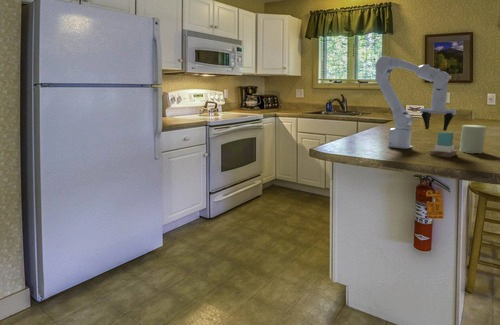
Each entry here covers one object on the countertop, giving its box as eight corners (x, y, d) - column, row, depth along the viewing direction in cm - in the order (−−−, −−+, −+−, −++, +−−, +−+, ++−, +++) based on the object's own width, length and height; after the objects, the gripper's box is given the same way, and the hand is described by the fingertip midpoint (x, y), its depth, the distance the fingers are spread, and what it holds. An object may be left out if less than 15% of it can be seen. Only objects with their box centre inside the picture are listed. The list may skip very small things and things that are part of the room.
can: (483, 154, 158) (486, 126, 156) (458, 152, 163) (461, 125, 160) (482, 151, 166) (486, 124, 163) (459, 149, 171) (462, 123, 168)
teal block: (437, 144, 156) (438, 133, 155) (441, 143, 159) (442, 132, 158) (448, 145, 153) (449, 133, 152) (452, 144, 156) (453, 133, 155)
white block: (434, 150, 156) (435, 145, 156) (438, 149, 160) (439, 143, 160) (449, 152, 152) (450, 146, 152) (453, 150, 156) (454, 144, 156)
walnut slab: (429, 156, 157) (430, 150, 157) (436, 153, 163) (436, 148, 162) (449, 159, 152) (450, 153, 151) (456, 156, 157) (456, 150, 157)
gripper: (418, 99, 165) (415, 129, 168) (453, 99, 155) (450, 131, 158) (424, 98, 170) (421, 127, 173) (459, 99, 160) (455, 130, 163)
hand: (435, 129), depth 166 cm, fingers open, 7 cm apart
